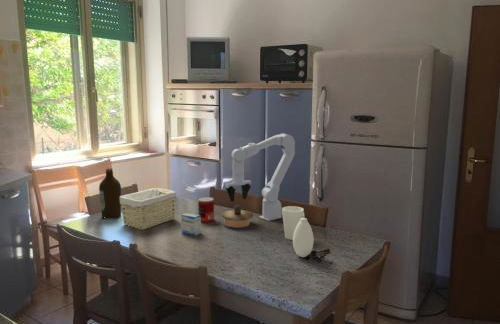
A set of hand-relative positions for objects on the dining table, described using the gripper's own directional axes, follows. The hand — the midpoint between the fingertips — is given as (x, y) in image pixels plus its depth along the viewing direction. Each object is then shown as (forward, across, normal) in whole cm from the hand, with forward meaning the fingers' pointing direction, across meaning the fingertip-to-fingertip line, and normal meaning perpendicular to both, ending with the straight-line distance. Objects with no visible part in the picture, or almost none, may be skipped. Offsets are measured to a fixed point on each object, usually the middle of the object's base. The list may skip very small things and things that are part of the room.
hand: (238, 200), depth 212 cm
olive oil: (+10, +48, -45) cm, 67 cm away
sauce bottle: (+11, +9, +54) cm, 56 cm away
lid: (+6, +4, +5) cm, 9 cm away
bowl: (+10, +4, +4) cm, 12 cm away
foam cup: (+11, -3, +36) cm, 37 cm away
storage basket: (+11, +37, -24) cm, 45 cm away
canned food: (+10, +13, -10) cm, 19 cm away
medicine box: (+10, +29, +3) cm, 31 cm away
